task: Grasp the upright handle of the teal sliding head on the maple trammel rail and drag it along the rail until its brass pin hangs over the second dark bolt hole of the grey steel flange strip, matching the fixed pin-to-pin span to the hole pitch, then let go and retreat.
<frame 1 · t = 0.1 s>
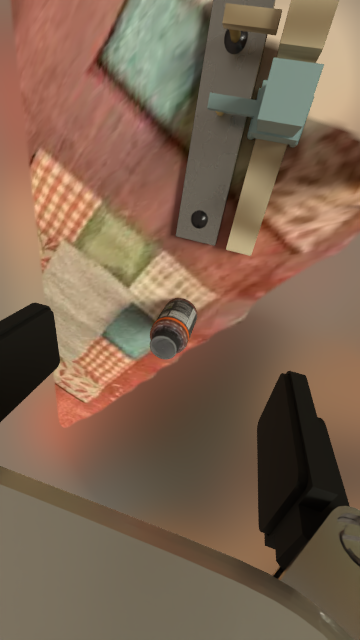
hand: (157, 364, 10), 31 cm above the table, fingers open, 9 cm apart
trammel rail: (267, 153, 31), on the table
flange plate: (216, 143, 32), on the table
supplement bottle: (182, 311, 45), on the table
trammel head: (257, 106, 24), point 6 cm above the table, slide at 0.0 cm
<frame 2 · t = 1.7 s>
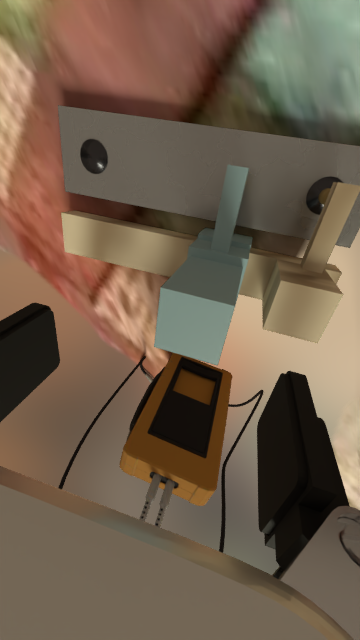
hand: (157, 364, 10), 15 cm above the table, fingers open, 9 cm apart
trammel rail: (190, 255, 23), on the table
flange plate: (203, 175, 20), on the table
multimeter: (192, 388, 32), on the table
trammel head: (217, 255, 16), point 6 cm above the table, slide at 0.0 cm
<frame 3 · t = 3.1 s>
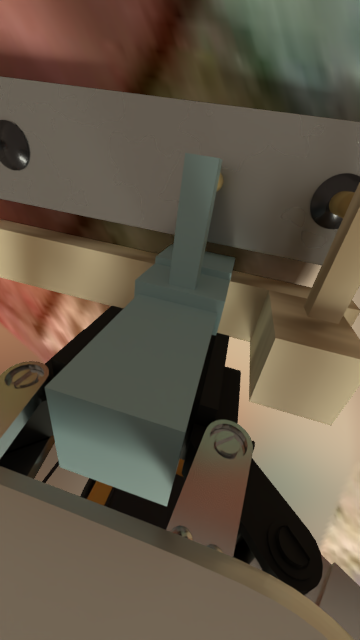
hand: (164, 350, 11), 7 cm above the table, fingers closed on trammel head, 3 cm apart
trammel rail: (154, 279, 18), on the table
flange plate: (165, 172, 14), on the table
multimeter: (168, 433, 26), on the table
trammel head: (177, 294, 11), point 6 cm above the table, slide at 0.0 cm, touching gripper
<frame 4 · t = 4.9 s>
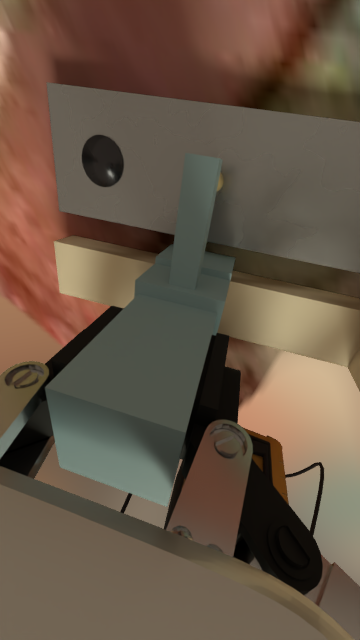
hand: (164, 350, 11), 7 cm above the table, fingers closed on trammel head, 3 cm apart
trammel rail: (237, 298, 17), on the table
flange plate: (268, 189, 13), on the table
multimeter: (224, 452, 25), on the table
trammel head: (177, 295, 11), point 6 cm above the table, slide at 5.8 cm, touching gripper
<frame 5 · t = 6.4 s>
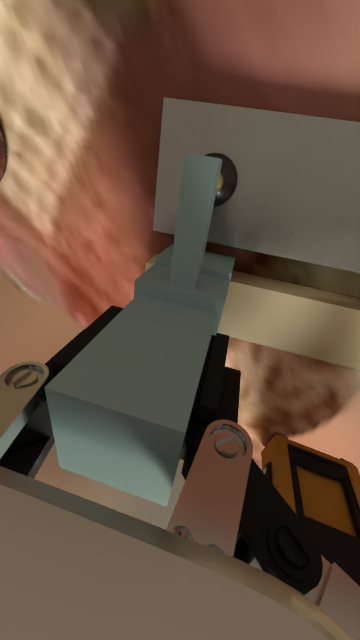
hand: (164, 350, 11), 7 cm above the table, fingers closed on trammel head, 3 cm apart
trammel rail: (333, 321, 16), on the table
multimeter: (287, 472, 24), on the table
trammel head: (177, 295, 11), point 6 cm above the table, slide at 11.9 cm, touching gripper
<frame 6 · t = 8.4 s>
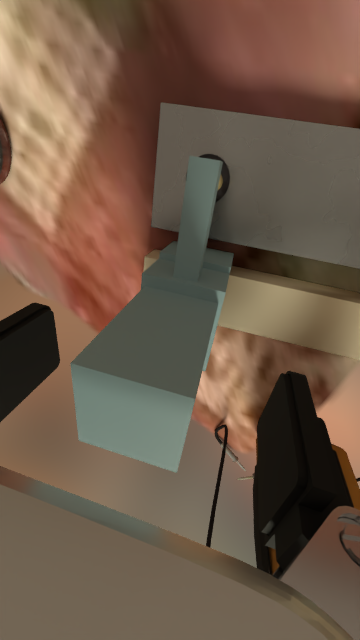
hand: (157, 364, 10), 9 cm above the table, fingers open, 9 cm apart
trammel rail: (321, 311, 17), on the table
multimeter: (281, 459, 25), on the table
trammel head: (181, 286, 12), point 6 cm above the table, slide at 11.6 cm
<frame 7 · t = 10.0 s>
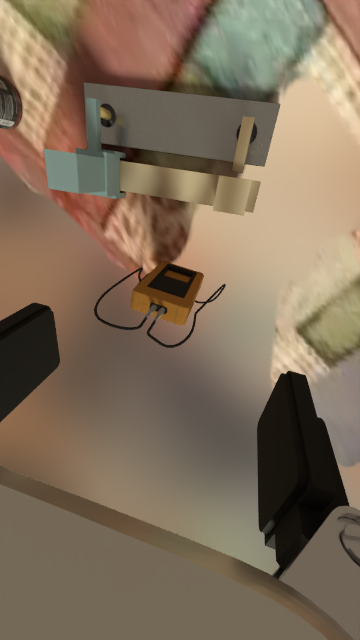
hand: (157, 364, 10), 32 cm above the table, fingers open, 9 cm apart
trammel rail: (170, 183, 36), on the table
flange plate: (176, 126, 32), on the table
multimeter: (177, 292, 44), on the table
supplement bottle: (6, 104, 36), on the table
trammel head: (90, 151, 30), point 6 cm above the table, slide at 11.6 cm
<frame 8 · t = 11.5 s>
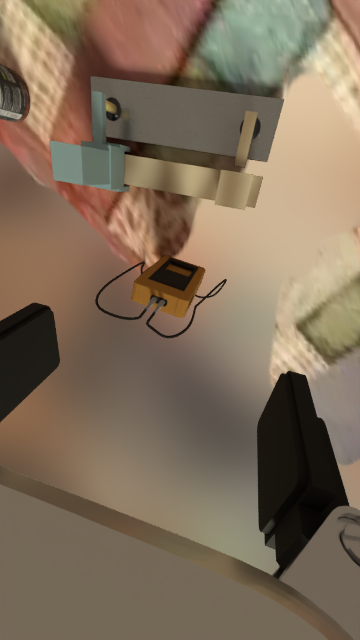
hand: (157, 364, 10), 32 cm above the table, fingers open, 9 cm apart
trammel rail: (174, 177, 36), on the table
flange plate: (180, 120, 33), on the table
multimeter: (178, 287, 44), on the table
supplement bottle: (15, 97, 36), on the table
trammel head: (95, 144, 31), point 6 cm above the table, slide at 11.6 cm
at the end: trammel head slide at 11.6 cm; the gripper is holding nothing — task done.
